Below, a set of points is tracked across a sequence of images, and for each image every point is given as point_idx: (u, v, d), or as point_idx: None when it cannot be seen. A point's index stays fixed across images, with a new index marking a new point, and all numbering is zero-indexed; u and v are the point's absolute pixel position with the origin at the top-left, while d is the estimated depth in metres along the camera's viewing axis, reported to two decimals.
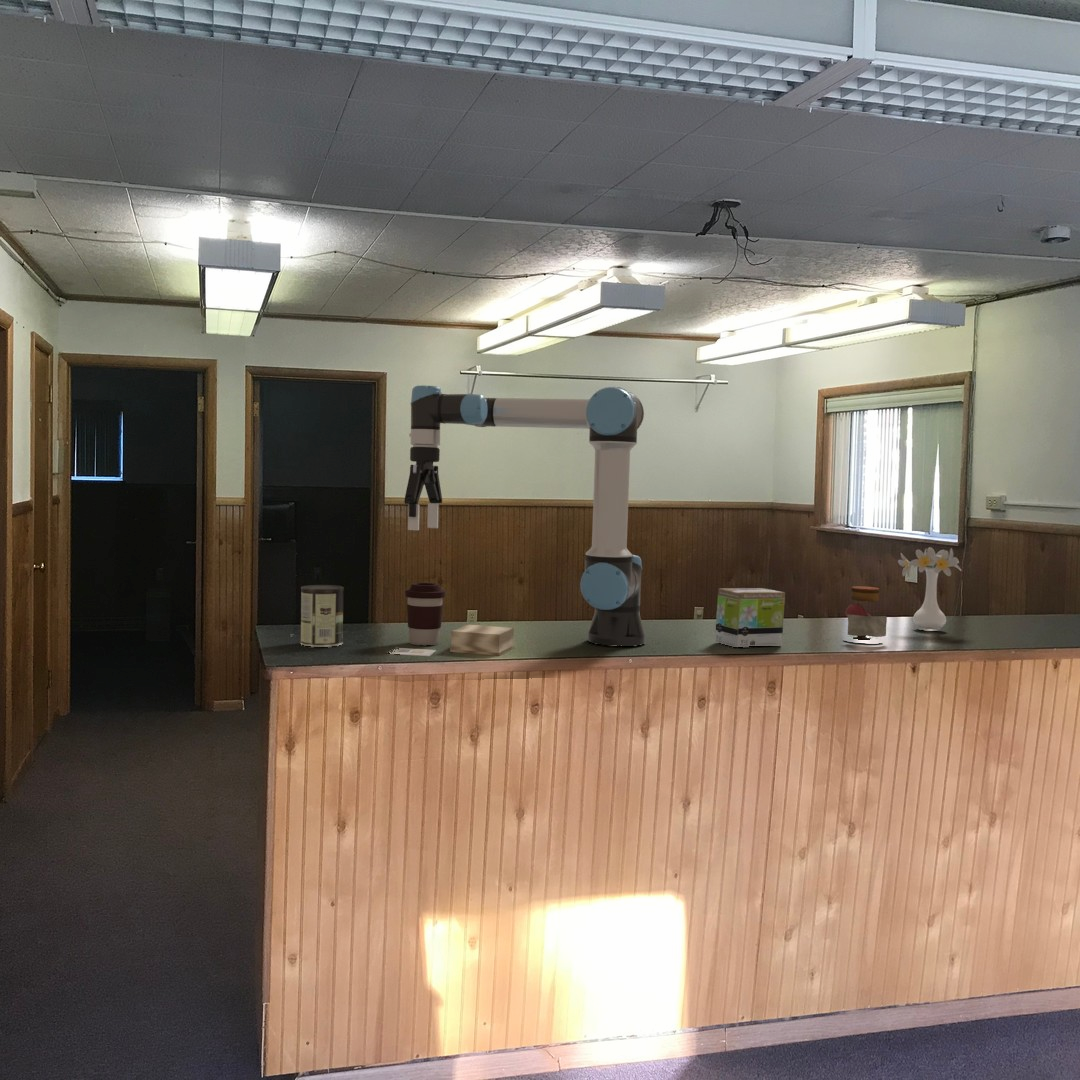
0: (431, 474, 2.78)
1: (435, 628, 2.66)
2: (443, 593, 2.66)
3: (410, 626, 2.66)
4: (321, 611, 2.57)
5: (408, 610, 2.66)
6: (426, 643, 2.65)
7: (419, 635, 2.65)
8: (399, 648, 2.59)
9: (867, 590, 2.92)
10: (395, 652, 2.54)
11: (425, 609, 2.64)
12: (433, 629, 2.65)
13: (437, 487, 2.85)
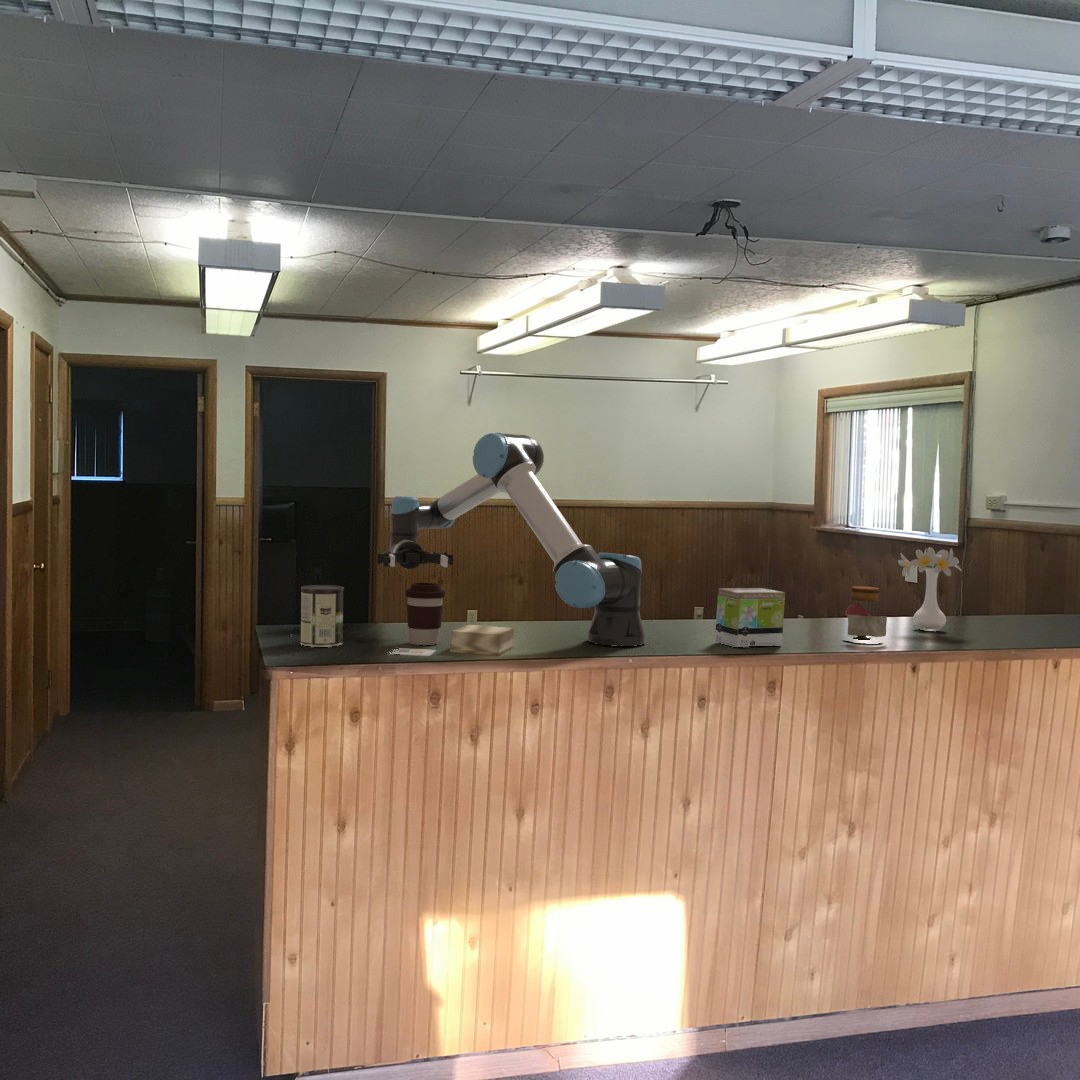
0: (416, 551, 2.91)
1: (435, 628, 2.66)
2: (443, 593, 2.66)
3: (410, 626, 2.66)
4: (321, 611, 2.57)
5: (408, 610, 2.66)
6: (426, 643, 2.65)
7: (419, 635, 2.65)
8: (399, 648, 2.59)
9: (867, 590, 2.92)
10: (395, 652, 2.54)
11: (425, 609, 2.64)
12: (433, 629, 2.65)
13: (441, 555, 2.89)
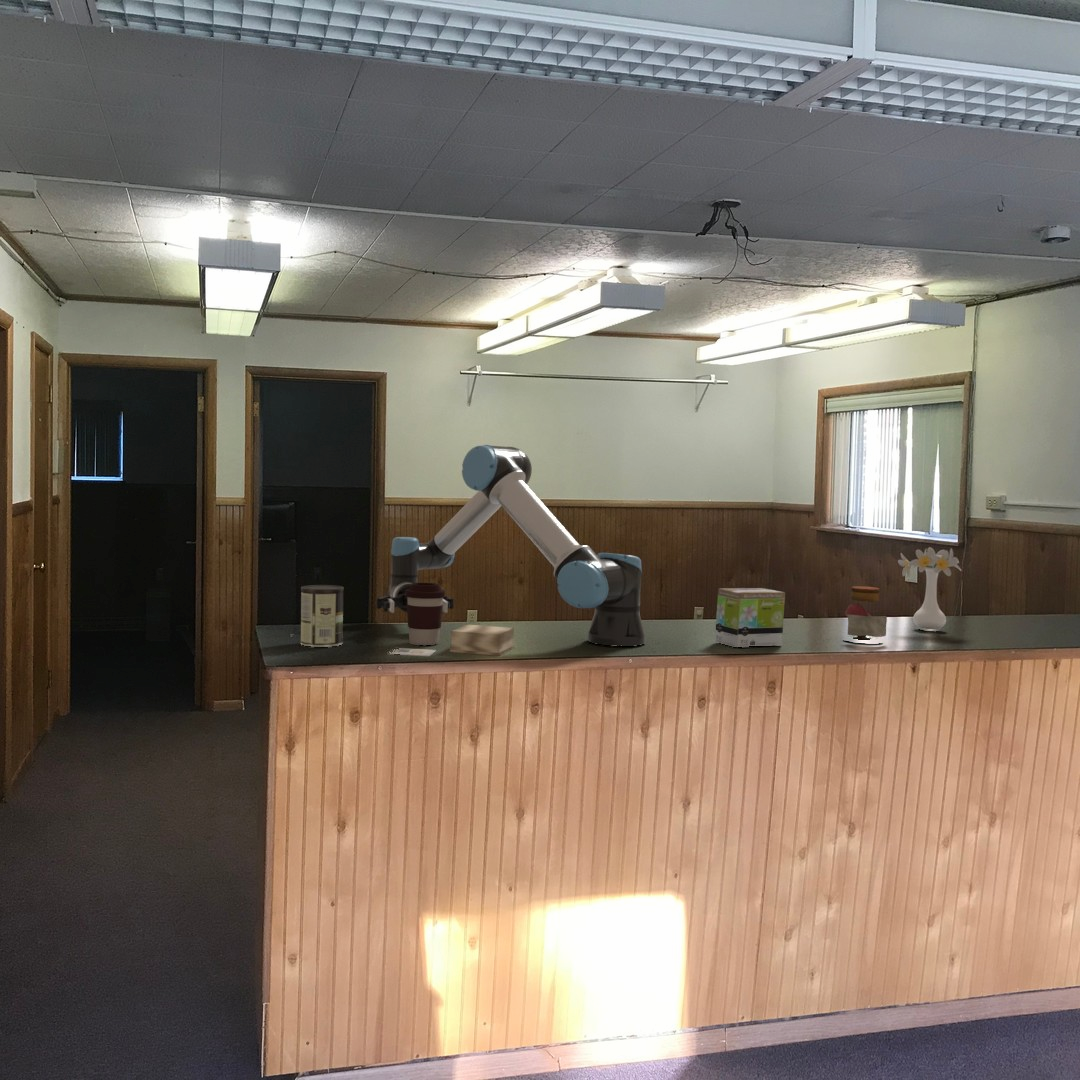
0: None
1: (435, 628, 2.66)
2: (443, 593, 2.66)
3: (410, 626, 2.66)
4: (321, 611, 2.57)
5: (408, 610, 2.66)
6: (426, 643, 2.65)
7: (419, 635, 2.65)
8: (399, 648, 2.59)
9: (867, 590, 2.92)
10: (395, 652, 2.54)
11: (425, 609, 2.64)
12: (433, 629, 2.65)
13: None
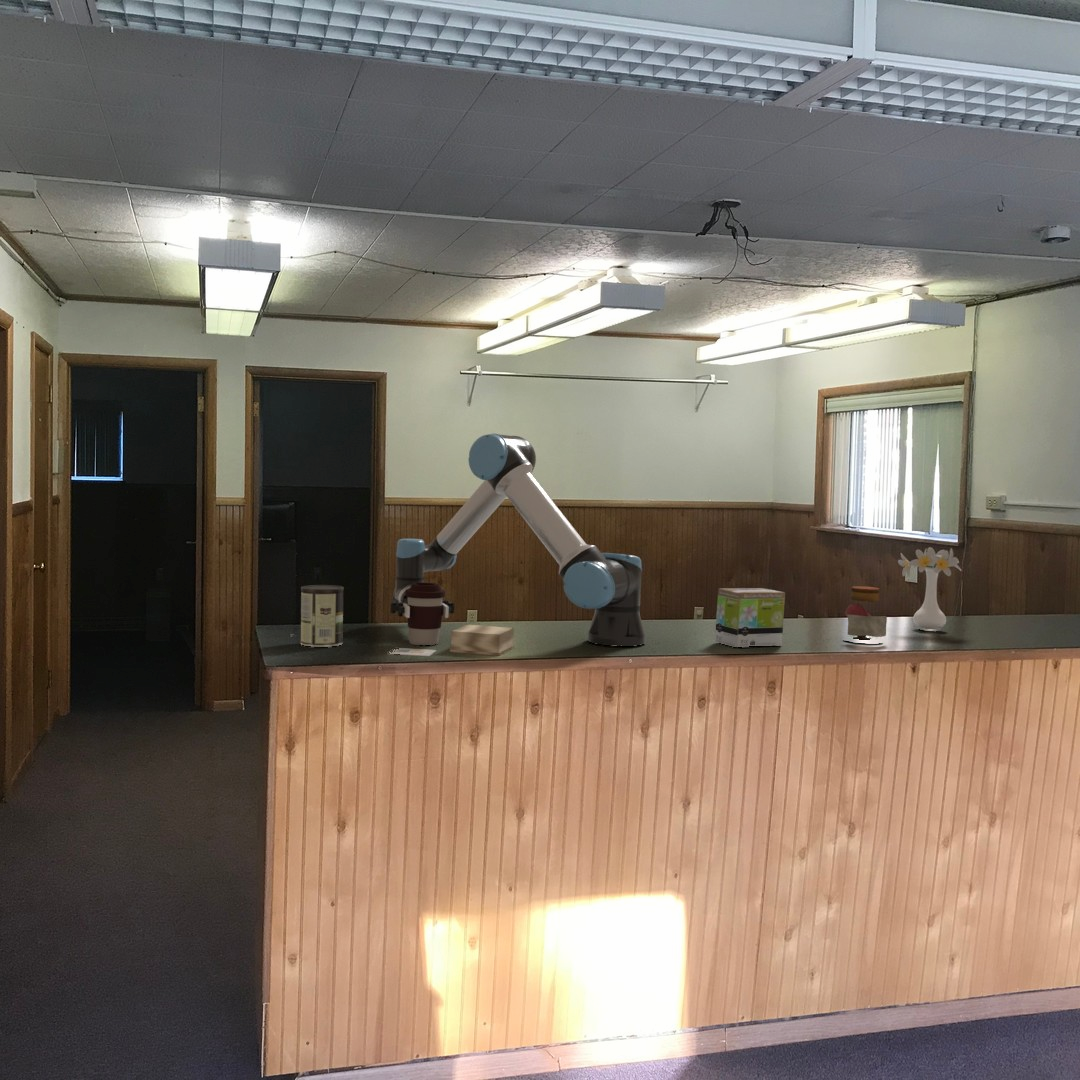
0: None
1: (435, 628, 2.66)
2: (443, 593, 2.66)
3: (410, 626, 2.66)
4: (321, 611, 2.57)
5: None
6: (426, 643, 2.65)
7: (419, 635, 2.65)
8: (399, 648, 2.59)
9: (867, 590, 2.92)
10: (395, 652, 2.54)
11: (425, 609, 2.64)
12: (433, 629, 2.65)
13: None
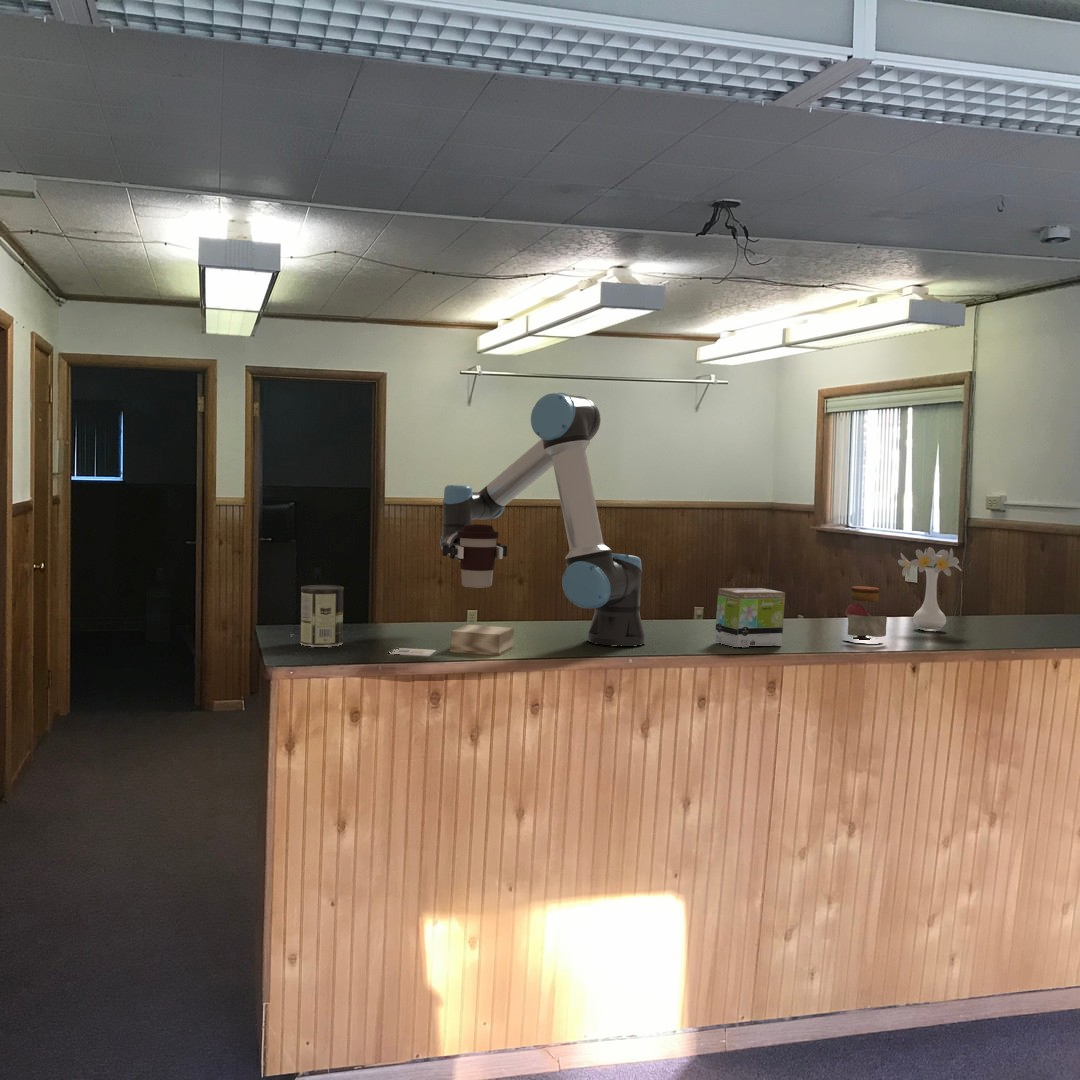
0: None
1: (489, 570, 2.60)
2: (497, 534, 2.60)
3: (463, 568, 2.60)
4: (321, 611, 2.57)
5: None
6: (480, 585, 2.59)
7: (473, 577, 2.59)
8: (399, 648, 2.59)
9: (867, 590, 2.92)
10: (395, 652, 2.54)
11: (479, 550, 2.58)
12: (487, 570, 2.59)
13: (496, 546, 2.70)
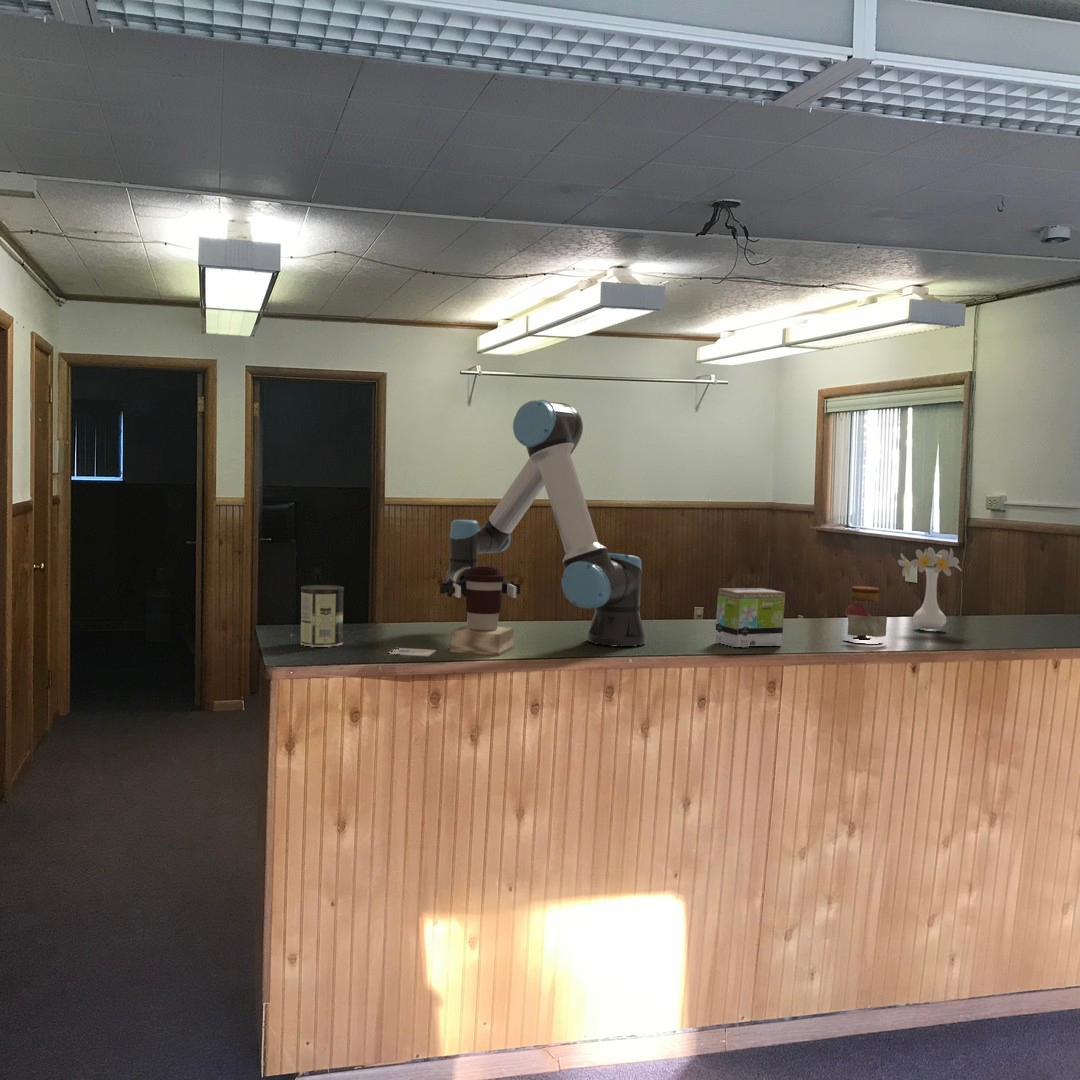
0: None
1: (495, 613, 2.60)
2: (503, 577, 2.60)
3: (469, 611, 2.60)
4: (321, 611, 2.57)
5: (467, 594, 2.60)
6: (486, 628, 2.59)
7: (478, 620, 2.59)
8: (399, 648, 2.59)
9: (867, 590, 2.92)
10: (395, 652, 2.54)
11: (485, 593, 2.58)
12: (493, 614, 2.59)
13: (507, 583, 2.71)
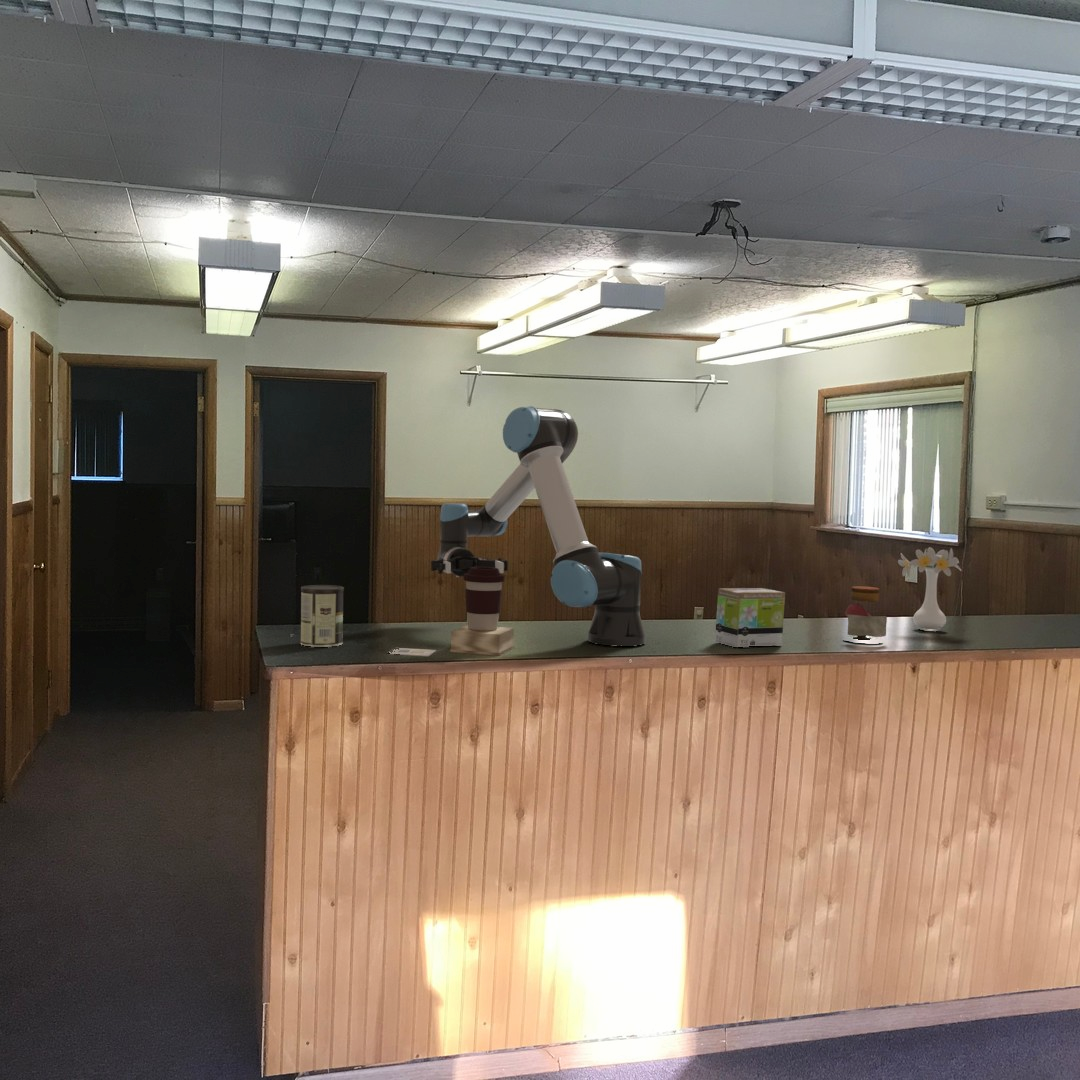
0: (469, 558, 2.86)
1: (495, 613, 2.60)
2: (503, 577, 2.60)
3: (469, 611, 2.60)
4: (321, 611, 2.57)
5: (467, 594, 2.60)
6: (485, 628, 2.59)
7: (478, 620, 2.59)
8: (399, 648, 2.59)
9: (867, 590, 2.92)
10: (395, 652, 2.54)
11: (485, 593, 2.58)
12: (493, 614, 2.59)
13: (495, 561, 2.84)
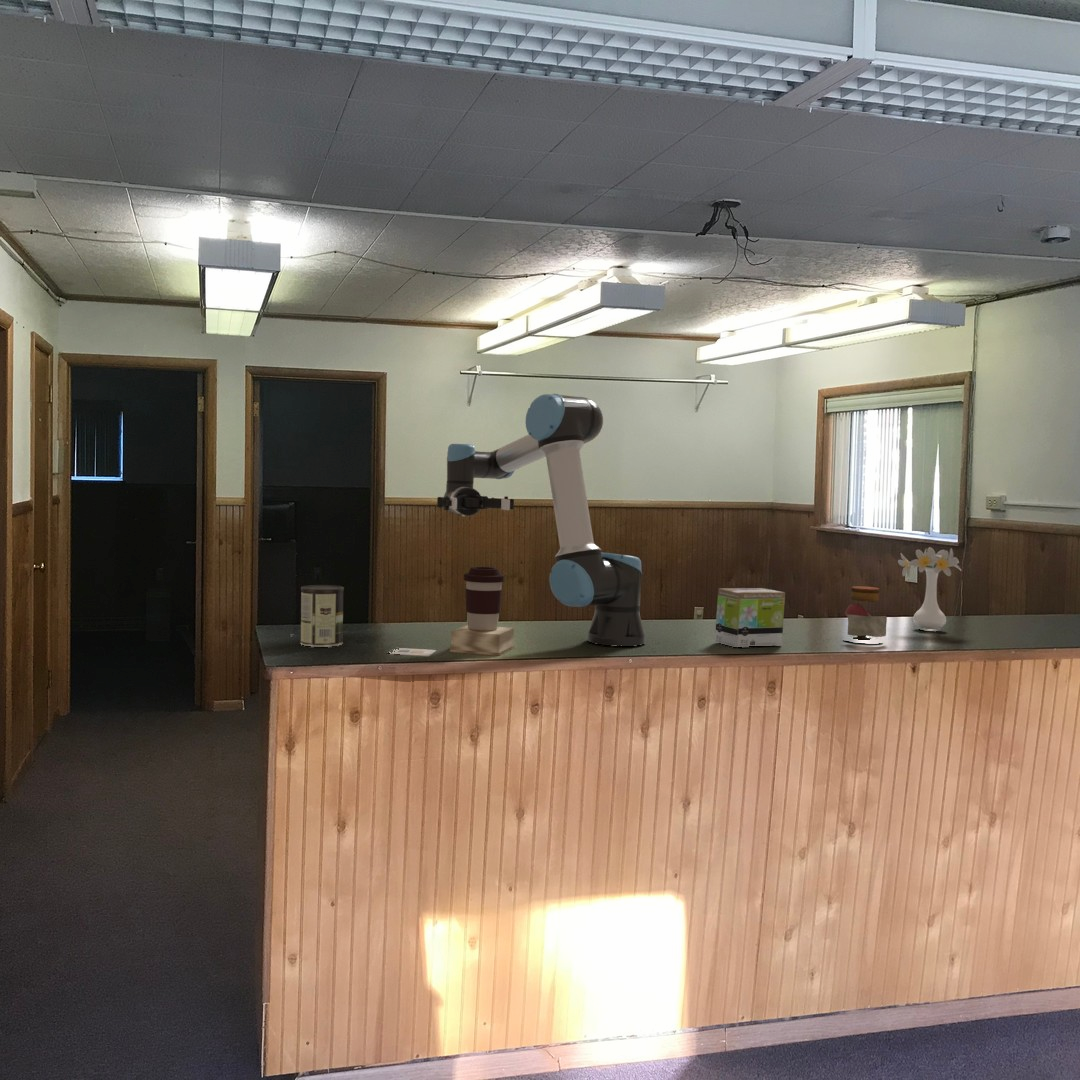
0: (475, 496, 2.86)
1: (495, 613, 2.60)
2: (503, 577, 2.60)
3: (469, 611, 2.60)
4: (321, 611, 2.57)
5: (467, 594, 2.60)
6: (485, 628, 2.59)
7: (478, 620, 2.59)
8: (399, 648, 2.59)
9: (867, 590, 2.92)
10: (395, 652, 2.54)
11: (485, 593, 2.58)
12: (493, 614, 2.59)
13: None
